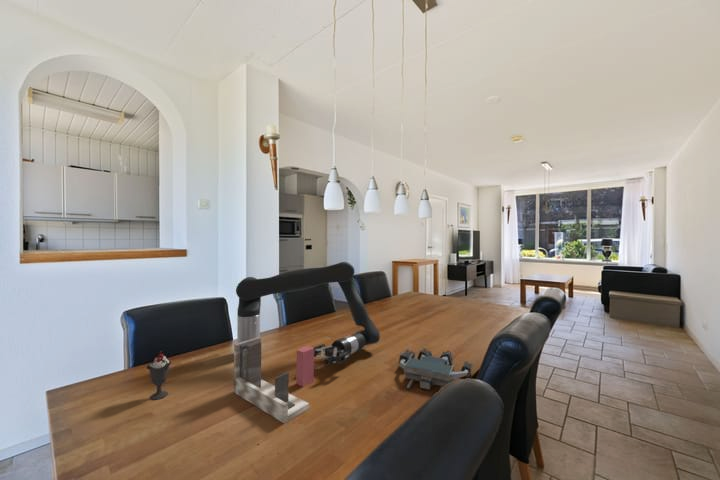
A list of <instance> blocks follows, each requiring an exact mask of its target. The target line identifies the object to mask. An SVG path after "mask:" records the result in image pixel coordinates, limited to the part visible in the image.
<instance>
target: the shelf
mask: <svg viewBox="0 0 720 480" xmlns="http://www.w3.org/2000/svg"><path fill="white" fill-rule="evenodd" d="M233 345H234V346H233V348H234V349H233V353H234V354H233V360H234V361H233V393H234V394H236V395H238V396H239V397H241V399H244V400H246V401H247V402H249V403H250V404H252V405H254V406H255V407H257V408H258V409H260V410H261V411H263V412H265V413H267V415H269V416H271V417H273V418H274V419H276V420H278V421H279V422H281V423H283V424H286V423H287V422H289V421H291V420H293V419H294V418H296V417H297V416H299V415H301V414H302V413H304V412H306V411H307V410H309V409H310V403H309V402H307V401H305V400H303V399H302V398H301V399H300V398H298V397H297V396H295V395H293V394H291V393H290V392H289V385H290V384H289V379H290V378H289V377H290V374H289V373H290V372H287V371H286V372H284V373H283V374H280V375H277V376H276V377H274V385H273V384H272V383H270V382H267V381H265V380H264V379H263V378H262V338H261V336H260V337H257V338H254V339H250V340H247V341H244V342H240V343H237V342H236V343H235V344H233Z"/></svg>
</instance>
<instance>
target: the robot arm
mask: <svg viewBox="0 0 720 480" xmlns="http://www.w3.org/2000/svg"><path fill="white" fill-rule="evenodd" d="M354 275H355V268H354V266H353V265H352V264H351V263H349V262H347V261H340V262H338V263H335V264H331V265H326V266H323V267H309V268H302V269H301V268H300V269H294V270H289V271H285V272H282V273H279V274H276V275H273V276H270V277H264V278H256V277H254V276H247V277H245V278H243V279H242V280H241V281H239V282H238V284H237V286H236V289H235V294H236V296H237V297H238V307H237V311H236V312H237V314H236V315H237V318H236V320H237V326H236V327H237V328H236V329H237V331H236V332H237V337H236V340H237V341H236V344H237V343H240V342H244V341H247V340H250V339H254V338H257V337H260V338H261V334H260V333H261V306H262V305H261V303H262V297H266V296H270V295H275V294H284V293H286V294H287V293H293V292H298V291H303V290H308V289H312V288H315V287H318V286H321V285H323V284H331V283H338V285H339V287H340V288H341V290H342V292H343V295H344V297H345V300H346V302H347V305H348V308H349V310H350V311H349V312H350V313H351V316H352V320H353V321H354V323H355V325H356V326H357V327H363V329H361V330H358V331H356V332H355V333H352V334H350V335H346V336H344V337H343V336H342V337H341V338H339V339H336V340H334V341H332V344H331V345H328V346H326V344H325V343H322V344H319V345H317V346H313V347H312V348H314V358H316V357H319V356H321V357H322V358H323V357H324V365H325V366H328V365H330V364H332V363H334V364H336V363H337V364H342V363H343V362H345V361H347V360H349V356H351V355H352V354H355V353H356V352H358V351H360V350H361V349H363V348H364V347H365V346H368V345H374V344H377V343H379V341H380V338H381V334H380V330H379V329H378V327H377V326H376V325H375V323H374V322H373V321H372V319H371V318H370V315H369V313H368V311H367V309H366V306H365V304H364V301H363V300H362V298H361V296H360V294H359V292H358V290H357V288H356V285H355V282H354V278H353V277H354ZM325 357H326V358H325Z"/></svg>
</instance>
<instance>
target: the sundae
mask: <svg viewBox="0 0 720 480" xmlns="http://www.w3.org/2000/svg"><path fill="white" fill-rule="evenodd" d="M170 365H172V361H171V360H169V359H168V358H167V357H166V355H164V354H163V353H162V350H160V352H159V354H158V355H157V356H156V357H155V358H154V359H153V361H152V362H150V363H149V364H147V366H146V369H147V370H148V372H149V376H150V382H151V384H153V386H156V391H155V392H154V393H153V394H151V395H150V396H149V399H150V400H152V401H156V400H157V401H158V400H161V399H163V398H166V397H167V396H168V395H169V392H168V391H165V390H163V389H162V385H163V384H164V383H165V382H166V381H167V379H168V373H169V368H170Z"/></svg>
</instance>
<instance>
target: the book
mask: <svg viewBox="0 0 720 480" xmlns="http://www.w3.org/2000/svg"><path fill="white" fill-rule="evenodd" d="M295 372H296V375H295V376H296V377H295V378H296V379H295V380H296V385H298V386H300V387H302V388H304V387H307V386H308V385H310V384H312V383H314V381H315V377H314V375H315V357H314V348H313V347H312V346H310V345H309V346H308V345H306V346H304V347H302V348H301V347H300V348H298V349H296V371H295Z"/></svg>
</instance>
